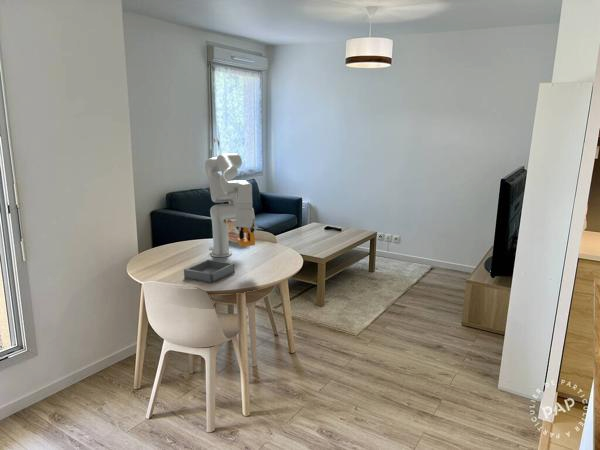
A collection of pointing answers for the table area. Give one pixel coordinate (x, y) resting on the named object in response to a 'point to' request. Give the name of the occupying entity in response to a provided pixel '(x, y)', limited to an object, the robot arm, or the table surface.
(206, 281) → the tray
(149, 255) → the table surface
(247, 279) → the table surface
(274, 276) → the table surface
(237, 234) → the coffeecake box
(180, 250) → the table surface
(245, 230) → the bracket
